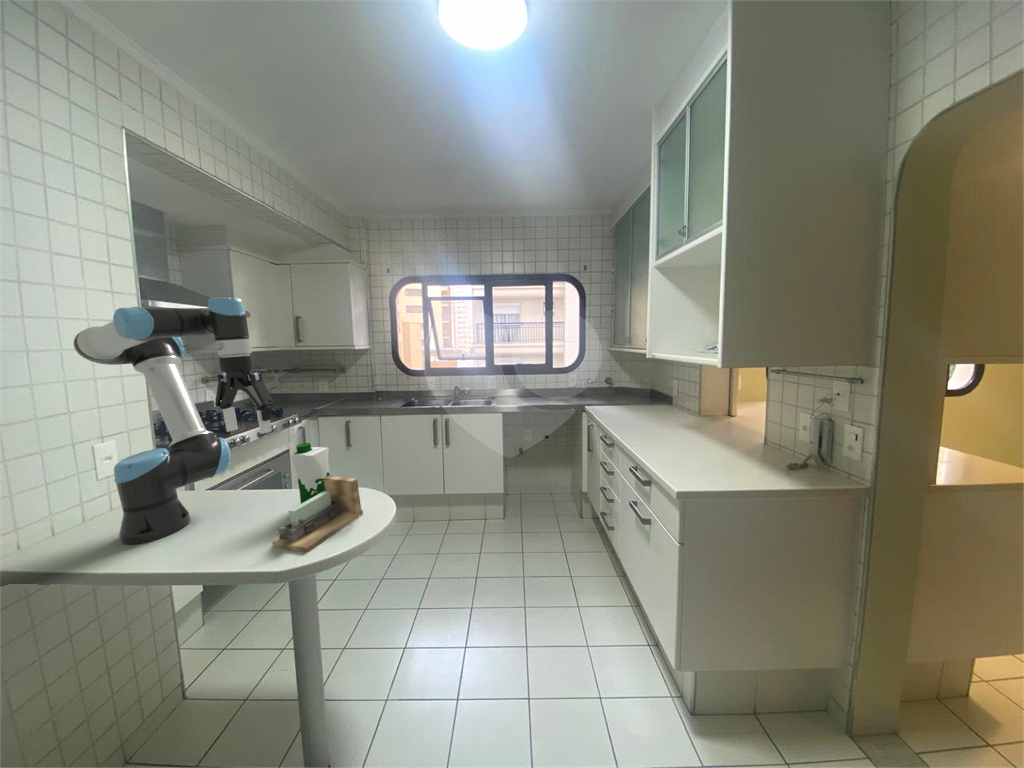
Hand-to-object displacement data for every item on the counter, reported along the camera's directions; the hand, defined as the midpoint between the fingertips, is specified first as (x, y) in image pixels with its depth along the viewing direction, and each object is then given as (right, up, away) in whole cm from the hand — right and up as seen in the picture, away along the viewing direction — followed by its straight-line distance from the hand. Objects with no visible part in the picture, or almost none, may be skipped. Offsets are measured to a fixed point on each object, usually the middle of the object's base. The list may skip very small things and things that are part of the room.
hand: (249, 431), depth 104 cm
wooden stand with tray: (+20, -28, +1) cm, 34 cm away
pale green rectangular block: (+17, -27, +2) cm, 32 cm away
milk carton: (+11, -26, +17) cm, 33 cm away
